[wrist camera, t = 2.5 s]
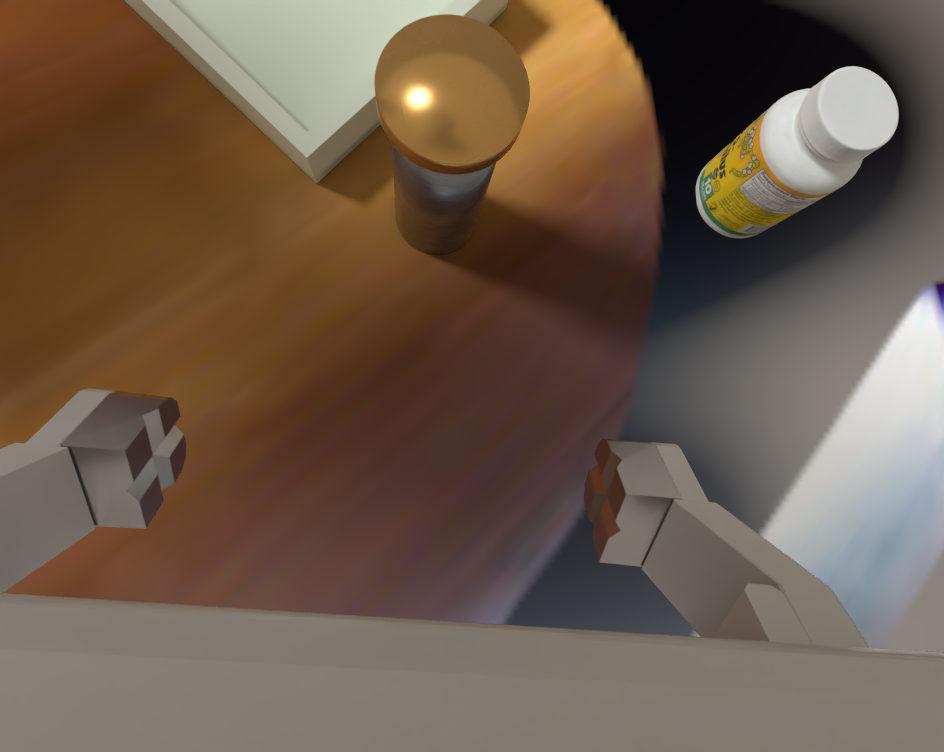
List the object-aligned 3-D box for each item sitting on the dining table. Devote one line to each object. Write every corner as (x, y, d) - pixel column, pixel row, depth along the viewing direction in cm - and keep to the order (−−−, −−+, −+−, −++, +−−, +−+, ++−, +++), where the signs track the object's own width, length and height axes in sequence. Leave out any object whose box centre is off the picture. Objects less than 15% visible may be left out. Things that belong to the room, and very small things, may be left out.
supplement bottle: (744, 257, 34) (877, 189, 24) (675, 205, 33) (782, 115, 24) (788, 191, 34) (933, 101, 25) (720, 140, 34) (841, 28, 25)
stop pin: (366, 215, 31) (340, 82, 19) (434, 150, 32) (450, -15, 20) (438, 283, 31) (456, 193, 19) (503, 217, 32) (560, 91, 20)
